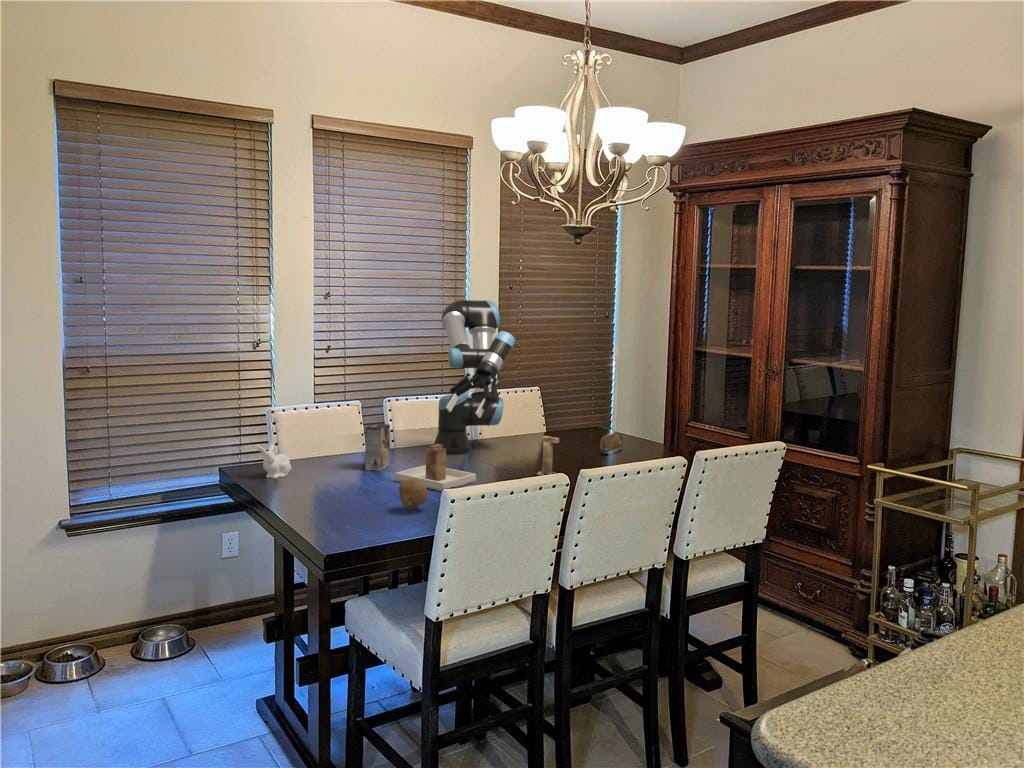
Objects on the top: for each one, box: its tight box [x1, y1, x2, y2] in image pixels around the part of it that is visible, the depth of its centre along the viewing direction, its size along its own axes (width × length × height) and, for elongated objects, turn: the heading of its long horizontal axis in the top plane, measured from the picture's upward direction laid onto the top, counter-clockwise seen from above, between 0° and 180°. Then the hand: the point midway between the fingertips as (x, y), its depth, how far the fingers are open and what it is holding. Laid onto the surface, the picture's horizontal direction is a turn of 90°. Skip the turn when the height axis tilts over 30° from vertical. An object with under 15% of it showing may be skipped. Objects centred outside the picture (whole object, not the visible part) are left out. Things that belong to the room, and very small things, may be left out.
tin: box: [599, 432, 623, 453], centre depth 344 cm, size 15×3×8 cm, turn 143°
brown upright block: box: [425, 444, 447, 481], centre depth 286 cm, size 5×5×12 cm
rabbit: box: [256, 441, 292, 479], centre depth 288 cm, size 12×9×12 cm
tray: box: [394, 464, 477, 493], centre depth 287 cm, size 22×18×3 cm
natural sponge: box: [398, 478, 429, 511], centre depth 252 cm, size 9×9×10 cm
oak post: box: [537, 435, 560, 475], centre depth 300 cm, size 8×7×15 cm
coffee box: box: [364, 423, 391, 472], centre depth 303 cm, size 9×6×16 cm
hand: (462, 412), depth 294 cm, fingers open, 13 cm apart
